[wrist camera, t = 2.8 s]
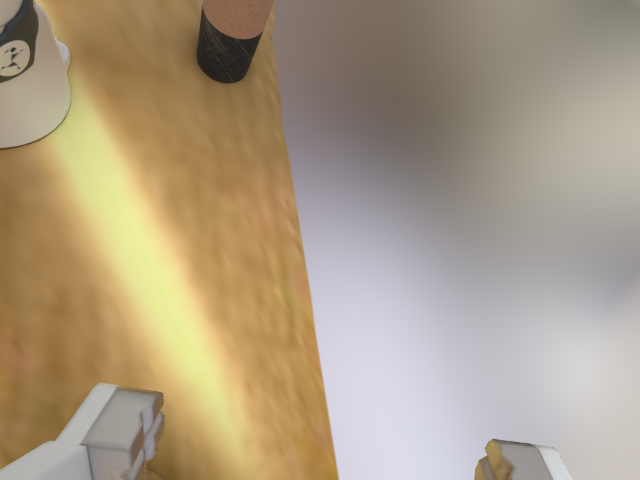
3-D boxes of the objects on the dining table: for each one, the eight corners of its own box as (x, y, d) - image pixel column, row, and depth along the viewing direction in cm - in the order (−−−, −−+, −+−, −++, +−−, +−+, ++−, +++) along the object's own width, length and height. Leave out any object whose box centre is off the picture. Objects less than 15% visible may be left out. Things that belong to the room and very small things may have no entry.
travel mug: (257, 81, 59) (306, -46, 41) (206, 87, 55) (235, -49, 38) (238, 37, 60) (277, -105, 43) (186, 40, 56) (206, -113, 39)
